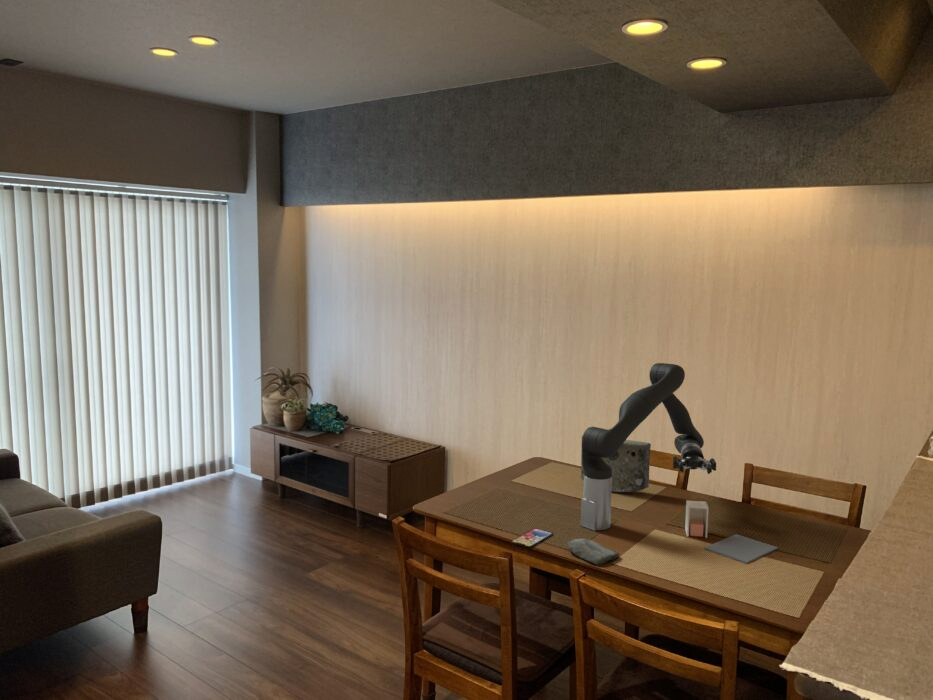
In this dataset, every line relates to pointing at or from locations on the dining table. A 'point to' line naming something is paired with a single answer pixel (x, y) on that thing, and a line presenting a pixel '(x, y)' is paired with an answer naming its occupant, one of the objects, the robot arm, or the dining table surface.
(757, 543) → the mat
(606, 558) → the stone
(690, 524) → the cube
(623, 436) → the robot arm
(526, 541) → the smartphone
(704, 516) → the white open box
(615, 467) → the concrete block
